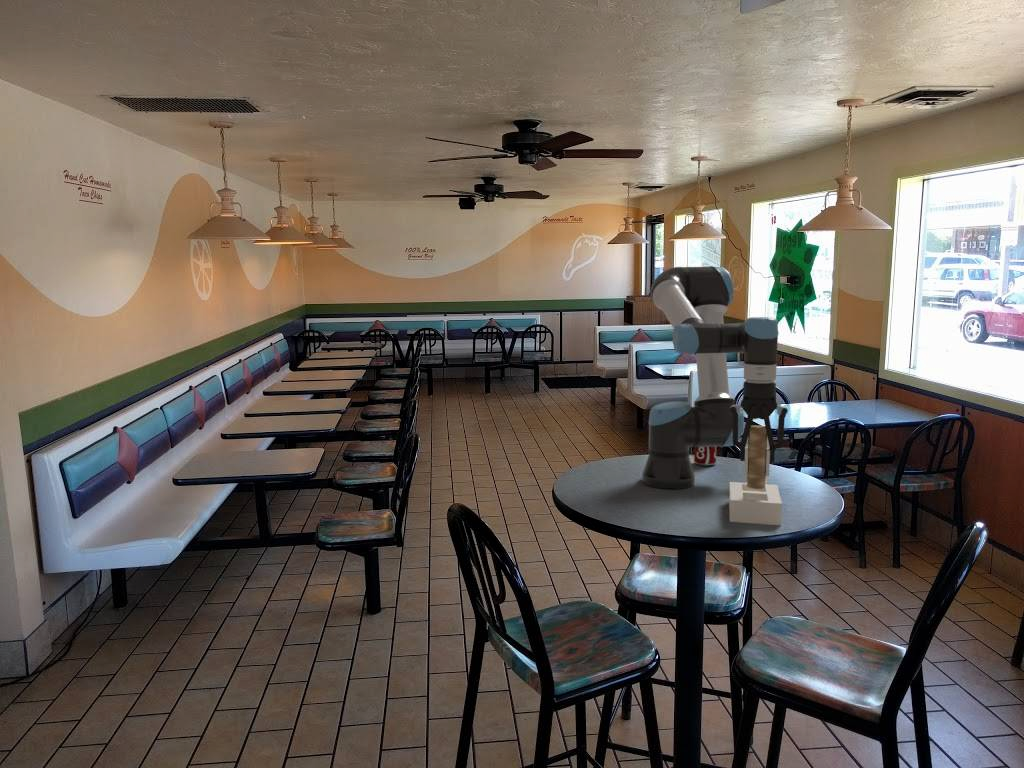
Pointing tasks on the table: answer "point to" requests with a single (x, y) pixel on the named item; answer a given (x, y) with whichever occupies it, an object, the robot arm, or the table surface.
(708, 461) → the soda can
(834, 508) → the table surface
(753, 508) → the square-hole block
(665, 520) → the table surface
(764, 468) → the oak peg
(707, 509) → the table surface
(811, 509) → the table surface
